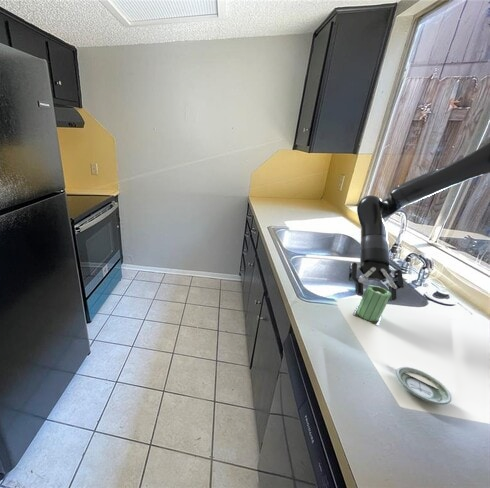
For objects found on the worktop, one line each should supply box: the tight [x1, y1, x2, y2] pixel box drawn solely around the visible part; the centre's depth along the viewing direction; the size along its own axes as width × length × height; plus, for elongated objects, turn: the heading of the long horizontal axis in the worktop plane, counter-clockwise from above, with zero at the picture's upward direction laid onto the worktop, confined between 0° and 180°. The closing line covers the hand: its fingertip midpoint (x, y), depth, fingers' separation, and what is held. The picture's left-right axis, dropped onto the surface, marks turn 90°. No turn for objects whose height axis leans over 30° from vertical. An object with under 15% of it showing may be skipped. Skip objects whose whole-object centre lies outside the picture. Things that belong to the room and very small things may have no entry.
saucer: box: [395, 366, 452, 405], centre depth 61 cm, size 10×10×2 cm
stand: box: [352, 290, 383, 327], centre depth 83 cm, size 7×7×11 cm
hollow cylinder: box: [356, 284, 391, 322], centre depth 82 cm, size 6×6×10 cm
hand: (375, 298), depth 81 cm, fingers open, 8 cm apart
